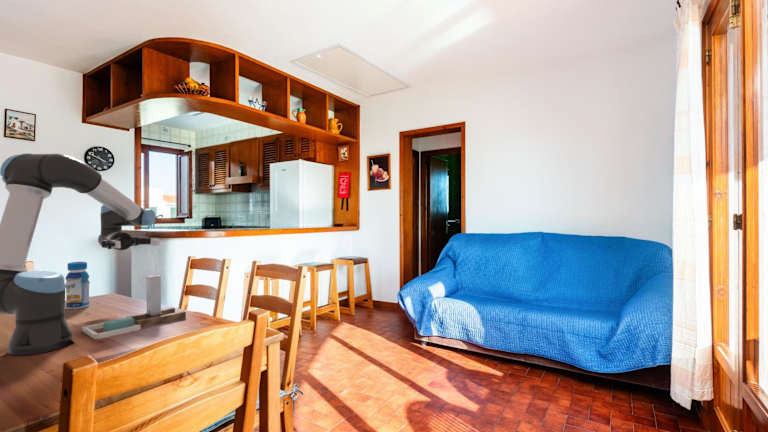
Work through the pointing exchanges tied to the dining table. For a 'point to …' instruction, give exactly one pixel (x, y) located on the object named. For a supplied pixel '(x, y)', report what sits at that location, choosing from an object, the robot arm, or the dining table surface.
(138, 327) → the tray
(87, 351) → the dining table surface
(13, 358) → the dining table surface
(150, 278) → the brushed metal bar
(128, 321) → the teal block
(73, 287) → the blue pill bottle
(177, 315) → the channel
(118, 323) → the teal cube
